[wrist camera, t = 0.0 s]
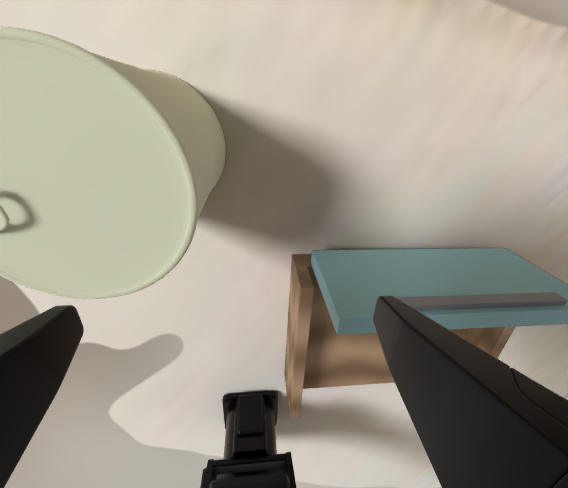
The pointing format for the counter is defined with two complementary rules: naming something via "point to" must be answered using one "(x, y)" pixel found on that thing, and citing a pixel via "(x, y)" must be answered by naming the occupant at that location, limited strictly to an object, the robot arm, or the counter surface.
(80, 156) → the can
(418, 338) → the robot arm
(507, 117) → the counter surface
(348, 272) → the teal flat rectangular block
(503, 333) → the flatbed
